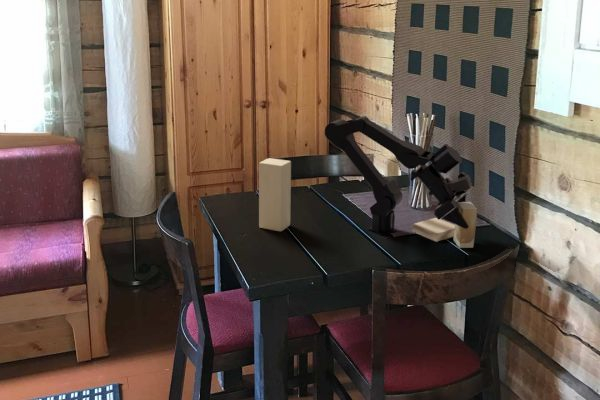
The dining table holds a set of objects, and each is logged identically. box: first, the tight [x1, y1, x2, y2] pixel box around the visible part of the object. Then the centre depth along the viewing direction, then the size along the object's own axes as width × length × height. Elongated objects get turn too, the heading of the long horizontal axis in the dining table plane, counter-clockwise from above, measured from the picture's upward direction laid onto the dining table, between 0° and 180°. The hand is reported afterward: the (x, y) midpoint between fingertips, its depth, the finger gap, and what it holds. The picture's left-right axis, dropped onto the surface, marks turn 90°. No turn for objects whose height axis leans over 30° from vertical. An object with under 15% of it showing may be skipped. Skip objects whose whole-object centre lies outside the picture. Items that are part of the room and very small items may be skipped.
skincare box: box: [453, 201, 478, 249], centre depth 200 cm, size 6×4×12 cm
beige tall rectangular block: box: [258, 157, 292, 232], centre depth 212 cm, size 8×7×21 cm
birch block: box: [412, 217, 455, 242], centre depth 210 cm, size 10×10×3 cm
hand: (470, 223), depth 199 cm, fingers closed on skincare box, 7 cm apart
